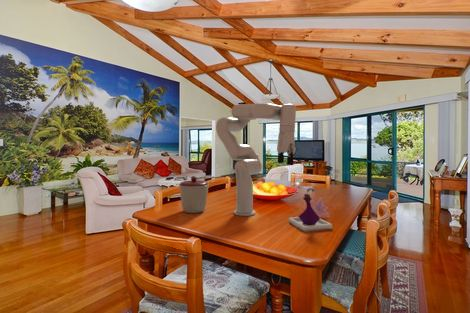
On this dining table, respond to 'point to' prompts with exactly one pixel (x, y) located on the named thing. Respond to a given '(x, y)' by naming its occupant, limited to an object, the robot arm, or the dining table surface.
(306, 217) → the perfume bottle
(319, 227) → the tray
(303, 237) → the dining table surface
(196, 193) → the canister
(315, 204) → the lily
